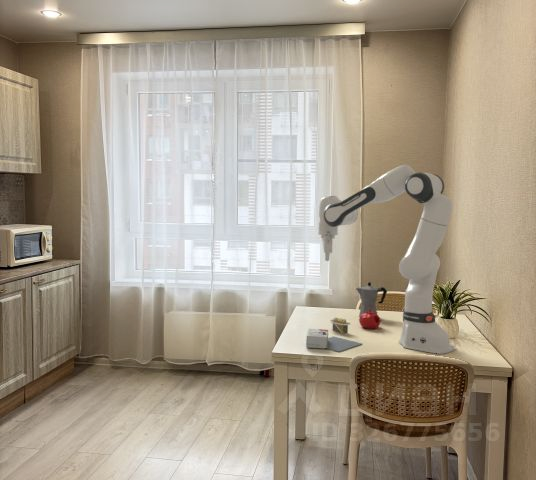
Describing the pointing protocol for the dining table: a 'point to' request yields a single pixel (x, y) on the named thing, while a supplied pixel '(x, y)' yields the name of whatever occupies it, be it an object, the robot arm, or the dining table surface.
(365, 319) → the pomegranate
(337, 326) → the rectangular planter
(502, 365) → the dining table surface
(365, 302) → the coffeepot
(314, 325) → the dining table surface
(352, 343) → the mat
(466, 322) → the dining table surface
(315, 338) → the ink box
